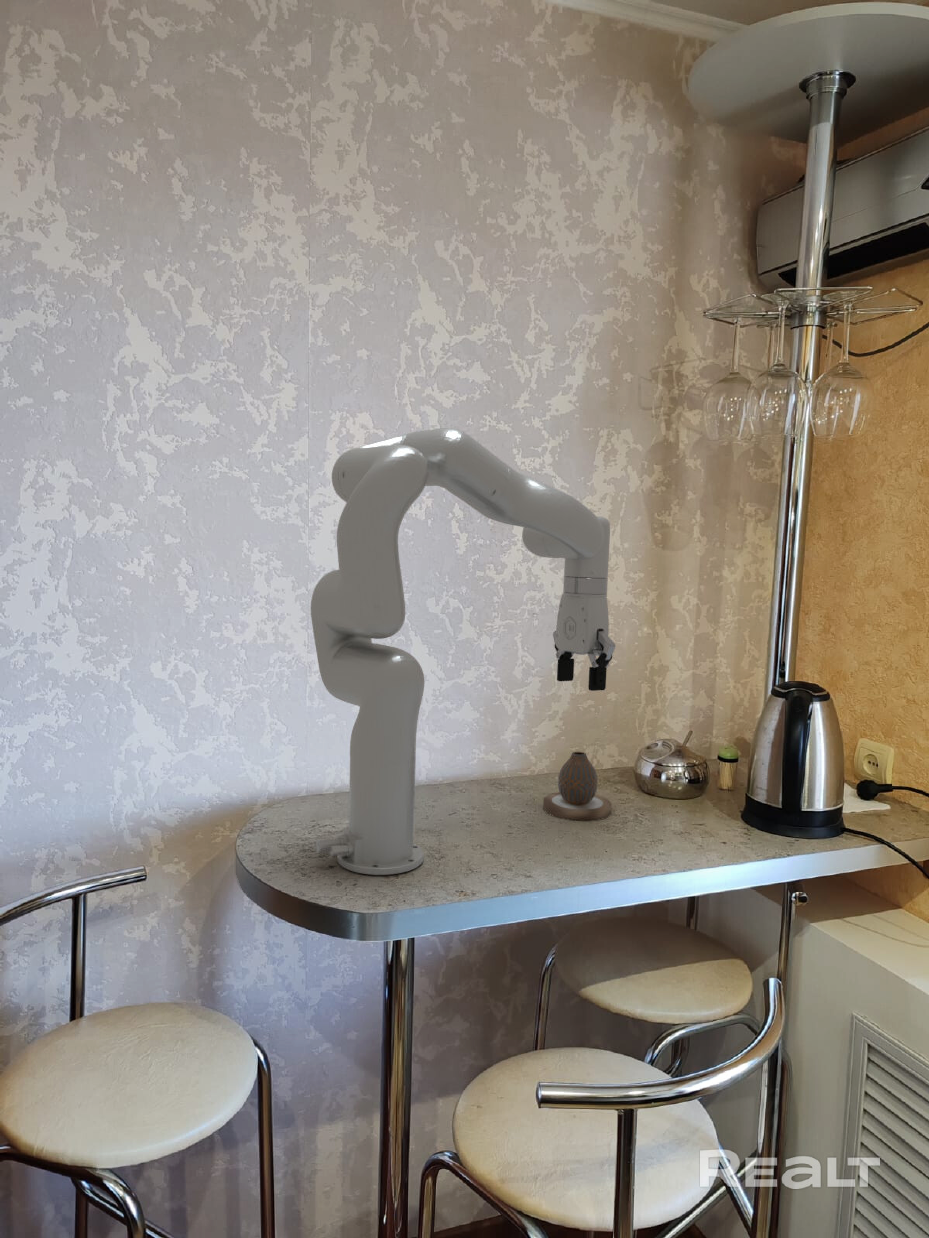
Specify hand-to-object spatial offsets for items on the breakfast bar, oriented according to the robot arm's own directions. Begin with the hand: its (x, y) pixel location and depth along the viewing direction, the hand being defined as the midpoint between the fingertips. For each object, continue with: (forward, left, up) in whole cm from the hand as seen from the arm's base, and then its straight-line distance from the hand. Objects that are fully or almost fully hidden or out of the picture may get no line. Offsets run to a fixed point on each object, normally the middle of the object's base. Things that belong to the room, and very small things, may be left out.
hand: (580, 685), depth 155 cm
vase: (0, 0, -21) cm, 21 cm away
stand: (0, 0, -22) cm, 22 cm away
